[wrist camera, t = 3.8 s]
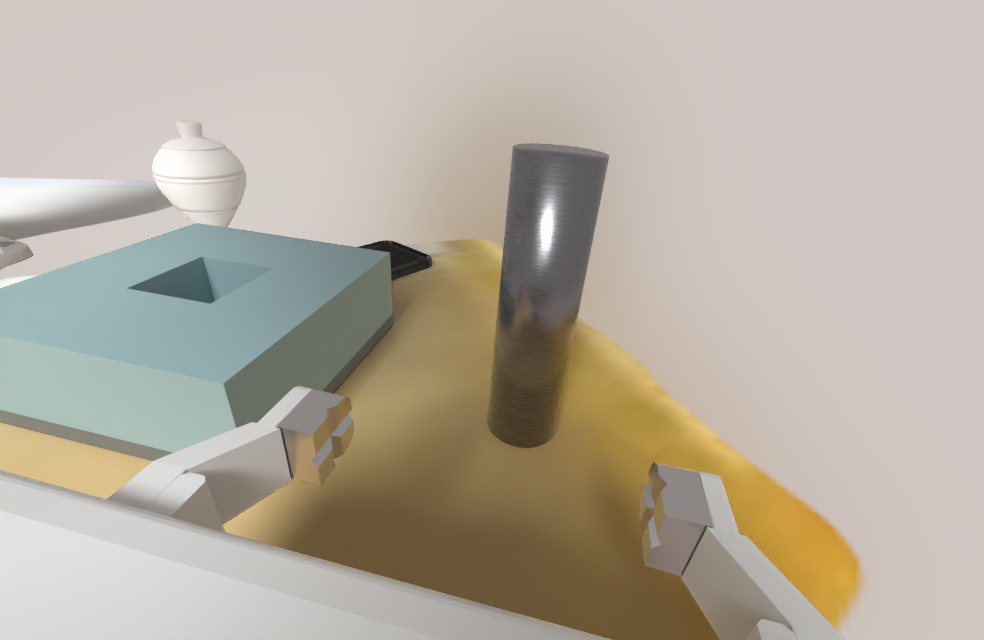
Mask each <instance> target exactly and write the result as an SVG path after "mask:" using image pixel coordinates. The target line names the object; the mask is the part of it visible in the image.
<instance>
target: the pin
mask: <svg viewBox="0 0 984 640" xmlns="http://www.w3.org/2000/svg"><path fill="white" fill-rule="evenodd" d="M608 160H609V155H607V154H605V153H602V152H599V151H595V150H590V149H585V148H579V147H572V146H563V145H552V144H518V145H514V146H513V152H512V163H511V173H510V184H509V195H508V205H507V216H506V227H505V238H504V248H503V259H502V270H501V281H500V291H499V302H498V313H497V324H496V334H495V345H494V356H493V367H492V378H491V388H490V399H489V410H488V426H489V428H490V430H491V432H492V433H493V434H494V435H495V436H496V437H497V438H498V439H500V440H501V441H503V442H505V443H507V444H510V445H513V446H517V447H535V446H539V445H542V444H544V443H546V442H547V441H549V440H550V439H551V438H552V436H553V435H554V433H555V428H556V423H557V418H558V413H559V408H560V403H561V398H562V393H563V388H564V383H565V378H566V373H567V368H568V363H569V357H570V352H571V347H572V342H573V337H574V332H575V327H576V322H577V317H578V312H579V307H580V302H581V297H582V291H583V286H584V281H585V276H586V271H587V266H588V261H589V256H590V251H591V246H592V241H593V236H594V230H595V225H596V221H597V215H598V210H599V205H600V200H601V195H602V190H603V185H604V180H605V175H606V170H607V164H608Z"/></svg>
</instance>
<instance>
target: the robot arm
mask: <svg viewBox="0 0 984 640" xmlns="http://www.w3.org/2000/svg"><path fill="white" fill-rule="evenodd" d="M31 256H33V253H32V252H31V250H30V249H29V247H28V245H26V244H24V243H21V242H18V241H15V240H12V239H9V238H6V237H3V236H0V269H2V268H4V267H6V266H9V265H12V264H14V263H17V262H20V261H23V260H25V259H28V258H30V257H31ZM351 409H352V407H351V400H350V399H349V398H348V397H345V396H341V395H337V394H333V393H328V392H324V391H320V390H316V389H315V390H314V389H310V388H306V387H302V386H297V387H294V388H293V389H292V390H291V391H290V392H288V393H287V394H286V395H285V396H284V397H283V398H282V399H281V400H280V401H279V402H278V403H277V404H276V405H275V406H274V407H273V408H272V409H271V410H270V411H269V412H268V413H267V414H266V415H265V416H264V417H263V418H262V419H261V420H260V421H259V422H258V423H254V422H251V423H248V424H246V425H243V426H241V427H238V428H236V429H233V430H230V431H228V432H225V433H223V434H220V435H218V436H215V437H213V438H210V439H208V440H205V441H203V442H200V443H197V444H195V445H192V446H190V447H187V448H185V449H182V450H180V451H177V452H175V453H172V454H169V455H167V456H164V457H162V458H159V459H157V460H154V461H153V462H151V463H150V464H149V465H148V466H147V467H145V468H144V469H143V470H142V471H141V472H139V473H138V474H137V475H136V476H135V477H133V478H132V479H131V480H130V481H128V482H127V483H126V484H125V485H124V486H122V487H121V488H120V489H119V490H118V491H116V492H115V493H114V494H113V495H112V496H110V497H109V498H108V499H107V500H106V499H103V498H99V497H96V496H92V495H88V494H85V493H81V492H78V491H74V490H70V489H67V488H63V487H59V486H56V485H52V484H49V483H45V482H41V481H38V480H34V479H31V478H27V477H23V476H20V475H16V474H12V473H9V472H5V471H2V470H0V640H613V639H609V638H605V637H602V636H598V635H594V634H591V633H587V632H584V631H580V630H576V629H573V628H569V627H565V626H562V625H558V624H555V623H551V622H547V621H544V620H540V619H536V618H533V617H529V616H526V615H522V614H518V613H515V612H511V611H507V610H504V609H500V608H496V607H493V606H489V605H486V604H482V603H478V602H475V601H471V600H467V599H464V598H460V597H457V596H453V595H449V594H446V593H442V592H439V591H435V590H431V589H428V588H424V587H421V586H417V585H413V584H410V583H406V582H402V581H399V580H395V579H392V578H388V577H384V576H381V575H377V574H374V573H370V572H366V571H363V570H359V569H356V568H352V567H348V566H345V565H341V564H338V563H334V562H330V561H327V560H323V559H319V558H316V557H312V556H309V555H305V554H301V553H298V552H294V551H291V550H287V549H283V548H280V547H276V546H273V545H269V544H265V543H262V542H258V541H254V540H251V539H247V538H244V537H240V536H236V535H233V534H229V533H226V532H225V530H224V527H223V524H225V523H226V522H228V521H229V520H231V519H232V518H234V517H236V516H237V515H239V514H240V513H242V512H244V511H245V510H247V509H248V508H250V507H251V506H253V505H255V504H256V503H258V502H259V501H261V500H263V499H264V498H266V497H267V496H269V495H270V494H272V493H274V492H275V491H277V490H278V489H280V488H282V487H283V486H285V485H286V484H288V483H289V482H291V481H292V480H297V481H302V482H306V483H311V484H315V485H320V486H321V485H322V484H323V483H324V481H325V480H326V478H327V477H328V476H329V474H330V473H331V471H332V470H333V468H334V467H335V464H334V459H335V458H337V457H339V456H341V455H343V454H344V453H345V451H346V450H347V448H348V447H349V444H350V442H351V439H352V436H353V430H354V425H353V420H352V419H351V417H350V416H349V415H348V413H349V411H350V410H351ZM291 479H292V480H291ZM649 481H650V482H649V483H647V484H645V485H644V487H643V490H642V493H641V497H640V504H639V519H640V524H641V526H642V527H643V528H644V530H645V532H644V535H643V538H642V550H643V559H644V566H645V567H649V568H653V569H656V570H660V571H664V572H667V573H671V574H674V575H678V576H682V577H681V579H682V580H683V582H684V584H685V585H686V587H687V588H688V590H689V592H690V593H691V595H692V596H693V598H694V600H695V601H696V603H697V604H698V606H699V607H700V609H701V611H702V612H703V614H704V615H705V617H706V619H707V620H708V622H709V623H710V625H711V627H712V628H713V630H714V631H715V633H716V634H717V636H718V638H719V639H720V640H845V638H844V637H843V636H842V635H841V634H840V633H839V632H838V631H837V630H836V629H835V628H834V627H833V626H832V625H831V624H830V623H829V622H828V621H827V620H826V619H825V618H824V616H823V615H822V614H821V613H820V612H819V611H818V610H817V609H816V608H815V607H814V606H813V605H812V604H811V603H810V602H809V601H808V600H807V599H806V598H805V597H804V596H803V595H802V594H801V592H800V591H799V590H798V589H797V588H796V587H795V586H794V585H793V584H792V583H791V582H790V581H789V580H788V579H787V578H786V577H785V576H784V575H783V574H782V573H781V572H780V571H779V570H778V568H777V567H776V566H775V565H774V564H773V563H772V562H771V561H770V560H769V559H768V558H767V557H766V556H765V555H764V554H763V553H762V552H761V551H760V550H759V549H758V548H757V547H756V546H755V544H754V543H753V542H752V541H751V540H750V539H749V538H748V537H747V536H744V535H740V534H739V531H738V528H737V525H736V522H735V519H734V516H733V513H732V510H731V506H730V503H729V500H728V497H727V494H726V491H725V488H724V485H723V482H722V479H721V478H720V476H719V475H716V474H711V473H706V472H701V471H695V470H690V469H686V468H681V467H676V466H671V465H666V464H661V463H656V462H654V463H653V464H652V465H651V468H650V470H649Z"/></svg>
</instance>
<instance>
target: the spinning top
mask: <svg viewBox="0 0 984 640" xmlns="http://www.w3.org/2000/svg"><path fill="white" fill-rule="evenodd" d="M176 124H177V127H178V129H179V132H180V135H181V137H180V138H176V139H173V140H171V141H168V142H166V143H164V144H163V145H161V146H162V147H161V148H160V150H159V151H158V152H157V154H156V155H155V157H154V160H153V164H152V173H153V178H154V180H155V182H156V185H157V186H158V188H159V189H160V191H161V192H162V193H163V194H164V195H165V196H166V198H167V199H168V200H169V201H170V202H171V203H172V204H173V205H174V206H175V207H176V208H177V209H178V210H179V211H181V212H182V213H183V214H184V215H185V216H186V217H187V218H188V219H189V220H191V221H192V222H193V223H194V224H196V223H199V224H206V225H213V226H219V227H226V228H227V226H228V225H229V223H230V222H231V220H232V218H233V216H234V214H235V212H236V211H237V208H238V206H239V205H240V202H241V199H242V196H243V194H244V190H245V186H246V173H245V171H244V167H243V165H242V163H241V162H240V160H239V159H238V158H237V157H236V156H235V155H234V154H233V153H232V152H231V151H230V150H229V149H228V148H226V147H225V145H224V144H221V143H219V142H217V141H214V140H211V139H208V138H204V137H203V136H202V128H201V123H200V122H197V121H178V122H177V123H176Z"/></svg>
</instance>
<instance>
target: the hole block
mask: <svg viewBox="0 0 984 640" xmlns="http://www.w3.org/2000/svg"><path fill="white" fill-rule="evenodd" d="M392 325H393V306H392V283H391V260H390V252H383V251H377V250H370V249H364V248H357V247H350V246H344V245H337V244H330V243H324V242H318V241H311V240H304V239H297V238H291V237H284V236H278V235H271V234H265V233H258V232H252V231H245V230H239V229H232V228H226V227H219V226H213V225H206V224H199V223H196V224H193V225H190V226H187V227H184V228H181V229H178V230H175V231H172V232H169V233H166V234H163V235H160V236H157V237H154V238H151V239H148V240H145V241H142V242H139V243H136V244H133V245H130V246H127V247H124V248H121V249H118V250H115V251H112V252H109V253H106V254H102V255H100V256H96V257H93V258H90V259H88V260H85V261H81V262H79V263H76V264H72V265H69V266H67V267H64V268H61V269H57V270H55V271H52V272H48V273H45V274H42V275H39V276H36V277H33V278H30V279H27V280H24V281H21V282H18V283H15V284H12V285H9V286H6V287H3V288H0V422H1V423H5V424H9V425H13V426H17V427H21V428H25V429H29V430H33V431H37V432H41V433H45V434H49V435H53V436H57V437H61V438H65V439H69V440H73V441H77V442H81V443H85V444H89V445H92V446H96V447H100V448H104V449H108V450H112V451H116V452H120V453H124V454H128V455H132V456H136V457H140V458H144V459H148V460H152V461H154V460H157V459H159V458H162V457H164V456H167V455H169V454H172V453H175V452H177V451H180V450H182V449H185V448H187V447H190V446H192V445H195V444H197V443H200V442H203V441H205V440H208V439H210V438H213V437H215V436H218V435H220V434H223V433H225V432H228V431H230V430H233V429H236V428H238V427H241V426H243V425H246V424H248V423H251V422H254V423H258V422H259V421H260V420H261V419H262V418H263V417H264V416H265V415H266V414H267V413H268V412H269V411H270V410H271V409H272V408H273V407H274V406H275V405H276V404H277V403H278V402H279V401H280V400H281V399H282V398H283V397H284V396H285V395H286V394H287V393H288V392H290V391H291V390H292V389H293V388H294V387H297V386H302V387H306V388H310V389H314V390H315V389H316V390H320V391H324V392H328V393H334V392H335V391H336V390H337V389H338V388H339V386H340V385H341V384H342V383H343V382H344V381H345V380H346V378H347V377H348V376H349V375H350V374H351V373H352V371H353V370H354V369H355V368H356V367H357V366H358V365H359V363H360V362H361V361H362V360H363V359H364V358H365V357H366V355H367V354H368V353H369V352H370V351H371V350H372V348H373V347H374V346H375V345H376V344H377V343H378V342H379V340H380V339H381V338H382V337H383V336H384V335H385V334H386V332H387V331H388V330H389V329H390V328H391V327H392Z"/></svg>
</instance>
